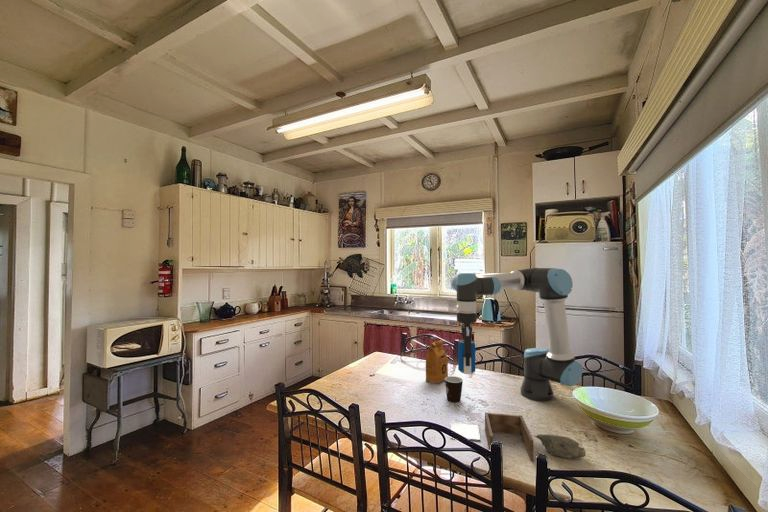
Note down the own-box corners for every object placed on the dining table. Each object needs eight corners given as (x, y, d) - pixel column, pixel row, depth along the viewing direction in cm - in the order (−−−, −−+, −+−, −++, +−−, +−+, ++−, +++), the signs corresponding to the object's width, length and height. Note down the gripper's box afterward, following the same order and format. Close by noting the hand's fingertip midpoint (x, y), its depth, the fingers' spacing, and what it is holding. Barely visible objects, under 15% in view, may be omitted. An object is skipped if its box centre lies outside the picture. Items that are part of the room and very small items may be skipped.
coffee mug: (463, 404, 154) (463, 383, 154) (444, 403, 156) (444, 381, 156) (462, 394, 166) (462, 374, 166) (444, 393, 167) (444, 373, 167)
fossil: (570, 475, 109) (588, 456, 113) (568, 452, 106) (586, 434, 110) (533, 447, 122) (550, 430, 126) (529, 426, 118) (547, 410, 122)
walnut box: (522, 433, 129) (522, 415, 129) (533, 461, 111) (533, 440, 111) (484, 429, 131) (484, 412, 131) (490, 456, 114) (490, 436, 114)
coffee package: (450, 380, 186) (450, 341, 186) (437, 385, 177) (437, 344, 177) (436, 375, 193) (436, 338, 193) (423, 381, 184) (423, 341, 185)
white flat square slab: (478, 426, 134) (478, 425, 134) (480, 441, 123) (480, 439, 123) (450, 424, 136) (450, 422, 136) (450, 438, 125) (450, 436, 125)
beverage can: (462, 367, 133) (462, 338, 133) (478, 371, 129) (477, 340, 129) (455, 372, 128) (455, 341, 128) (471, 375, 124) (471, 344, 124)
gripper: (456, 307, 139) (456, 362, 139) (457, 315, 120) (458, 379, 120) (474, 308, 138) (474, 363, 138) (478, 316, 119) (479, 380, 118)
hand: (466, 370), depth 129 cm, fingers closed on beverage can, 6 cm apart
